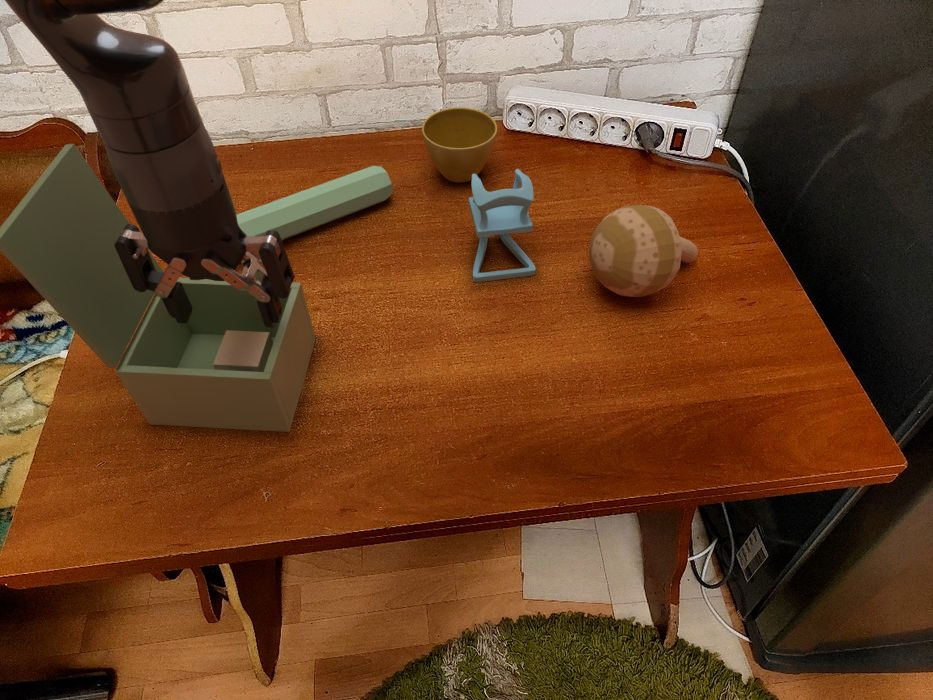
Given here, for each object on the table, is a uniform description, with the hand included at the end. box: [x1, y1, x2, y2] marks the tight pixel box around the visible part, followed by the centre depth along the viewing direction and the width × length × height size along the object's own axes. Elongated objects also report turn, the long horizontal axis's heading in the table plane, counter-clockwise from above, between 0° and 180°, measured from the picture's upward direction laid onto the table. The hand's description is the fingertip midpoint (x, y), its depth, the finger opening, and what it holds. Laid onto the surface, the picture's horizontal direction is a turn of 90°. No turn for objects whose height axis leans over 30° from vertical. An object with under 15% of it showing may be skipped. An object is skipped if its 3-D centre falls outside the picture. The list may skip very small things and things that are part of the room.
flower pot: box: [421, 107, 498, 184], centre depth 94 cm, size 10×10×7 cm
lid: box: [0, 143, 165, 369], centre depth 61 cm, size 16×13×1 cm
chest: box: [114, 277, 317, 433], centre depth 70 cm, size 15×13×9 cm
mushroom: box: [588, 204, 699, 298], centre depth 80 cm, size 10×11×15 cm
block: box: [213, 330, 273, 372], centre depth 71 cm, size 5×5×5 cm
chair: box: [468, 168, 537, 283], centre depth 81 cm, size 8×8×12 cm
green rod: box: [236, 165, 393, 241], centre depth 88 cm, size 6×6×25 cm
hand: (229, 319), depth 66 cm, fingers open, 8 cm apart
